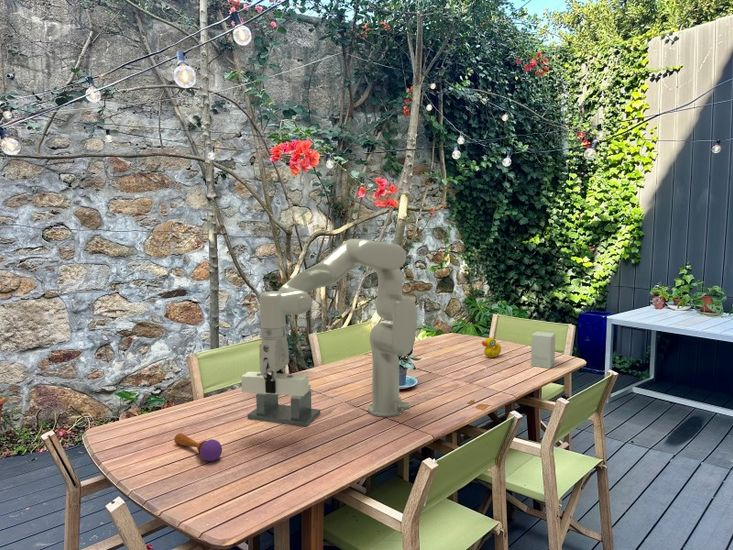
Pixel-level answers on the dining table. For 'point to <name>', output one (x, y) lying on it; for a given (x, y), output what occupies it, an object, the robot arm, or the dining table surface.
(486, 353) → the duckling
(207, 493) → the dining table surface
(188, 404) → the dining table surface
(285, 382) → the cream rectangular bar
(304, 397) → the rack
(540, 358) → the supplement box
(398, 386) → the robot arm
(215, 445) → the purple maraca
